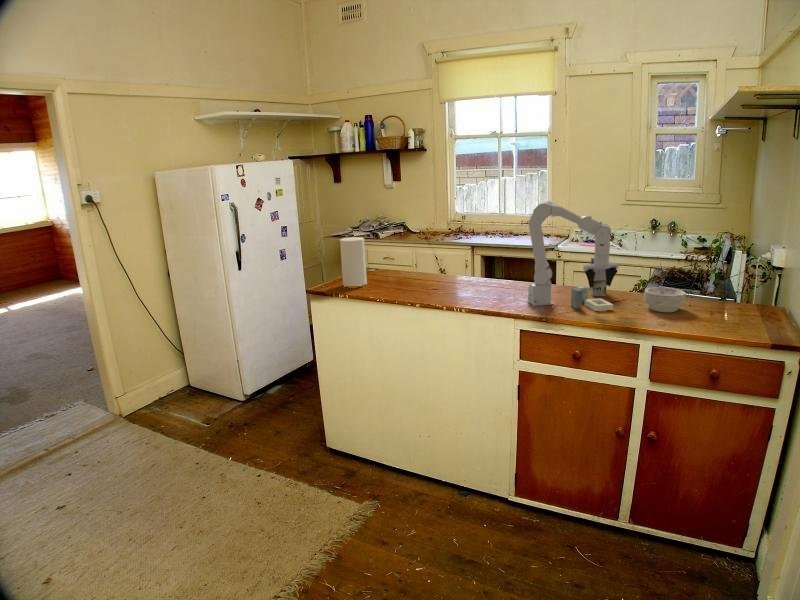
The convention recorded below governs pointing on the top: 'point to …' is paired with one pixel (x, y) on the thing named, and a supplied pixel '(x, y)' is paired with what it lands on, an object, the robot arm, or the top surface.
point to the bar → (576, 298)
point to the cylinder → (353, 261)
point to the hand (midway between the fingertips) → (599, 286)
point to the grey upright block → (584, 293)
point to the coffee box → (599, 282)
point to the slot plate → (598, 304)
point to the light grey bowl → (664, 299)
